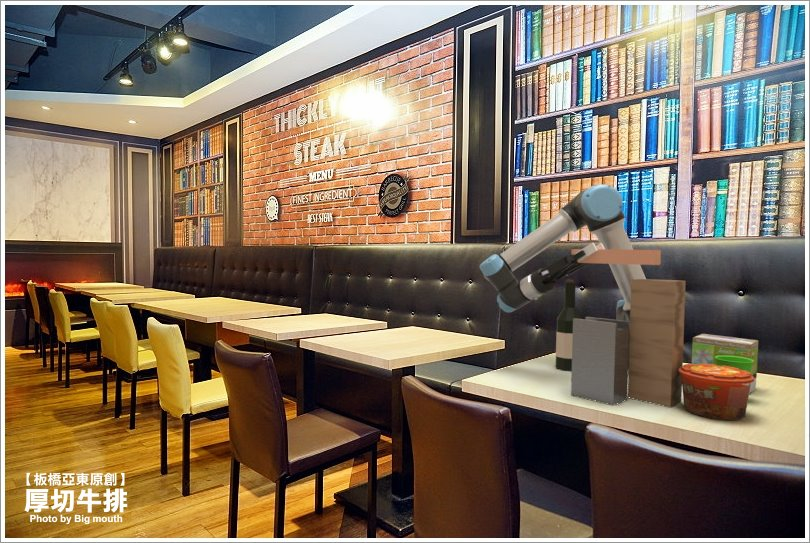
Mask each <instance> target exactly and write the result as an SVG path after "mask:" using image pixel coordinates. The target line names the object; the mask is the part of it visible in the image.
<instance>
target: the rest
mask: <svg viewBox="0 0 810 543" xmlns="http://www.w3.org/2000/svg"><path fill="white" fill-rule="evenodd" d="M628 352H629V321H621V320H616V319H612V318H611V319H610V318H601V317H591V316H585V318H584V319H583V318H581V319H576V318H574V319H573V340H572V371H571V376H570V377H571V380H570V383H571V384H570V386H571V387H570V395H571V396H572V395H574V396H573V397H576V396H579V397H578V398H581V397H583V398H582V399H585V398H587V399H586V400H589V399H591V400H590V401H593V400H596V401H595V402H597V401H600V402H599V403H601V402H604V403H603V404H605V403H608V404H607V405H609V404H612V405H611V406H615V405H614V404H616V405H618V404H620V403H619V402H621V403H623V402H622V401H624V400H626V401H627V400H628V372H629V368H628ZM624 402H625V401H624ZM617 403H618V404H617Z"/></svg>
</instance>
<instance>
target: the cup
mask: <svg viewBox="0 0 810 543" xmlns="http://www.w3.org/2000/svg"><path fill="white" fill-rule="evenodd" d="M715 358H716V361H717V366H729V367H734V368H738V369H739V370H745V371H748V372H751V368H752V364H753V362H754V360H752V359H749V358H745V357H739V356H728V355H719V356H715Z"/></svg>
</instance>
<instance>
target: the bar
mask: <svg viewBox="0 0 810 543" xmlns="http://www.w3.org/2000/svg"><path fill="white" fill-rule="evenodd" d="M581 249H582V248H576V249H575V248H573V249H571V252H570V253H571V254H570V255H574V254H575V253H576V252H578V251H580V250H581ZM597 250H598V251H597V252H595V253H594V254H592V255H590V256H589V257H587V258H585V259H584V260H582V261H580V262H578V261H577V260H576V261H577V263H589V264H604V265H605V264H606V265H607V264H608V265H609V264H638V265H640V266H643V265H644V266H660V265H661V261H662V257H661V256H662V250H661V249H633V250H630V249H597Z"/></svg>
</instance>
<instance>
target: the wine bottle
mask: <svg viewBox="0 0 810 543" xmlns="http://www.w3.org/2000/svg"><path fill="white" fill-rule="evenodd" d="M574 318H576V319H582V318H581V316H580V315H579V312H578V311H577V309H576V282H575V280H574V279H566V281H565V282H564V306H563V308H562V310H561V312H559V315H558V316H557V318H556V338H555V339H556V340H555V341H556V342H555V370H558V371H559V370H560V371H563V372H564V371H565V372H572V340H573V319H574Z"/></svg>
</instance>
